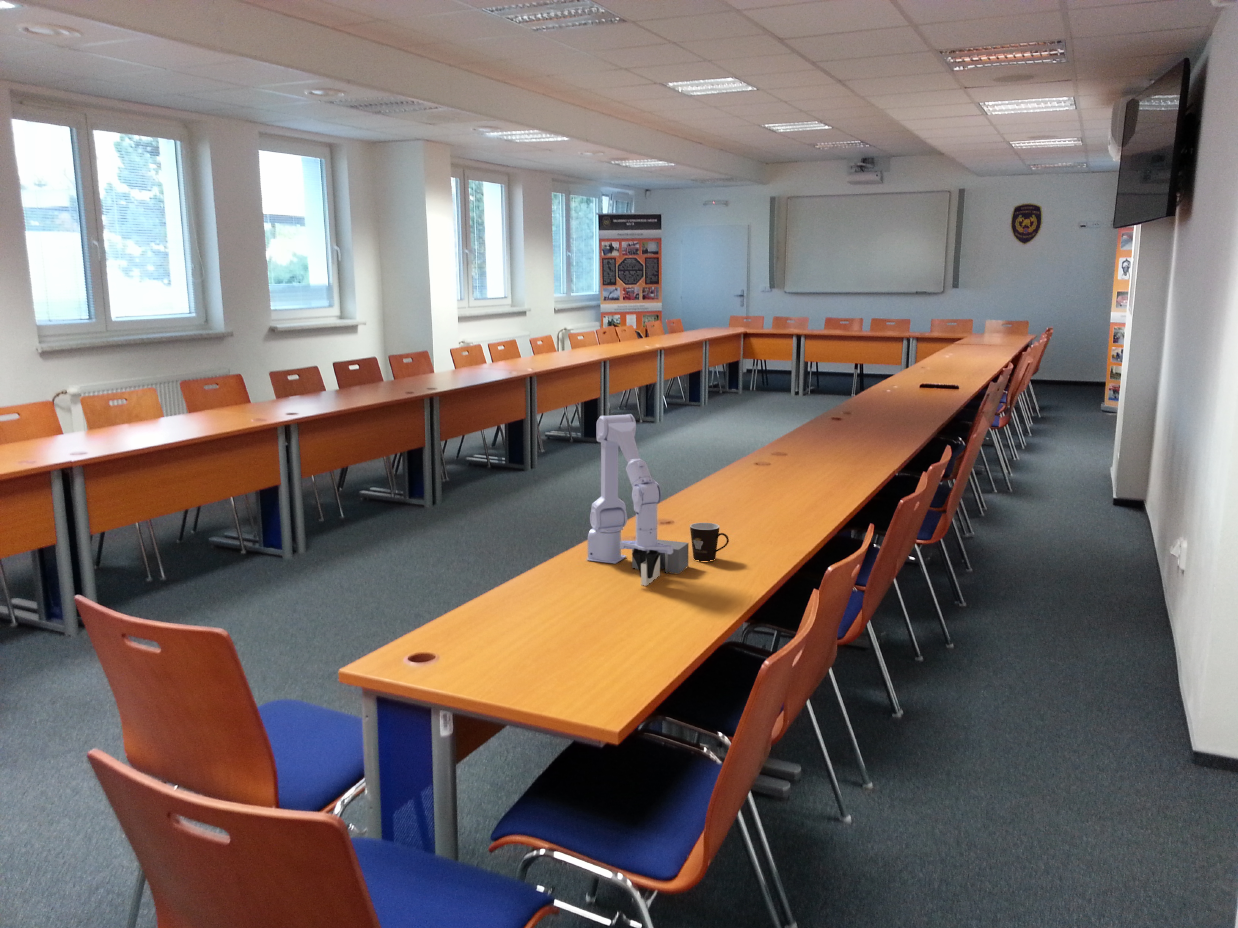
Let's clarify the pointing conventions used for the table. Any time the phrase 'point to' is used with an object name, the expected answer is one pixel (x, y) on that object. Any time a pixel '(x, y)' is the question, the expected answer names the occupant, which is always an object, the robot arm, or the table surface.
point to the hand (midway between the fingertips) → (646, 576)
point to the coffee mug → (705, 540)
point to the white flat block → (644, 577)
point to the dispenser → (671, 557)
